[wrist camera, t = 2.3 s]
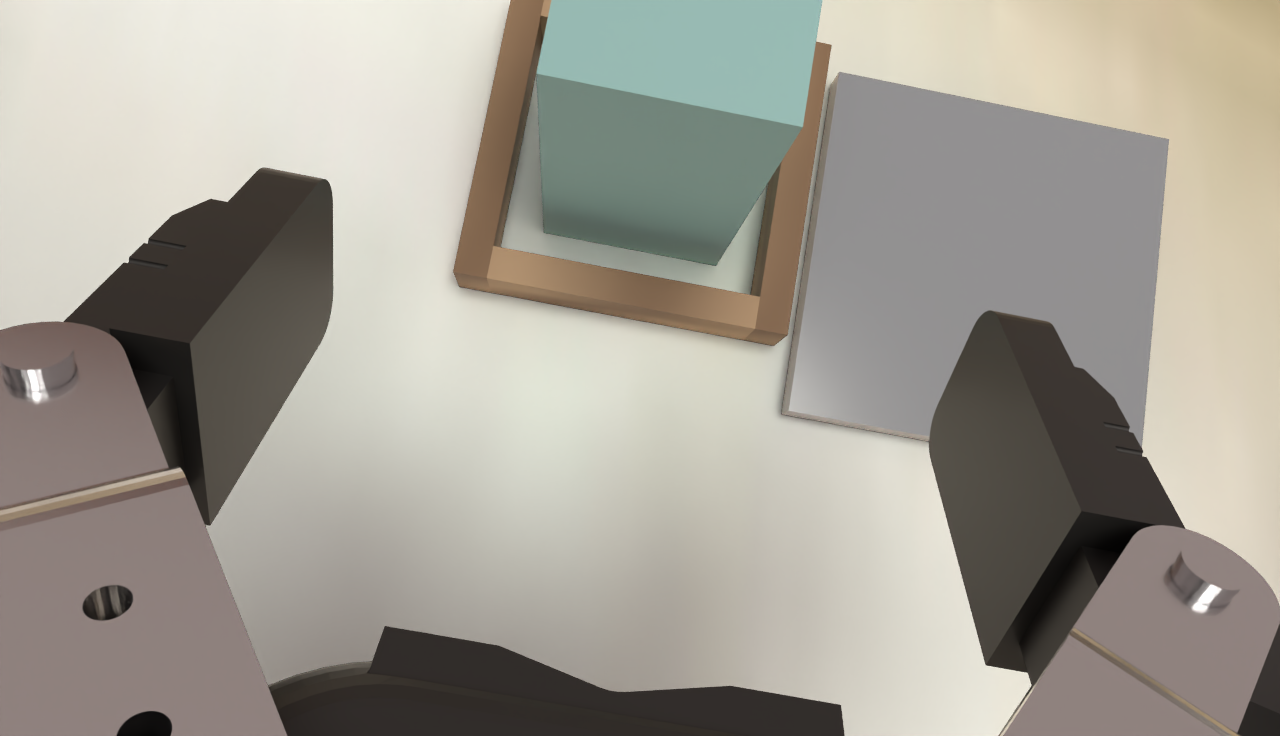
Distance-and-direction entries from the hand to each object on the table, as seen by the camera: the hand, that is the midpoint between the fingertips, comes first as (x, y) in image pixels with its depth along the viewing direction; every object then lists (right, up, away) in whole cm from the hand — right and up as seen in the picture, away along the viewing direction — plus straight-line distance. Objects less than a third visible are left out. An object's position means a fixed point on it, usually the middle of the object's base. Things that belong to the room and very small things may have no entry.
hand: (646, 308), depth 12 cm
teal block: (0, +4, +13) cm, 14 cm away
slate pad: (+9, +2, +14) cm, 16 cm away
